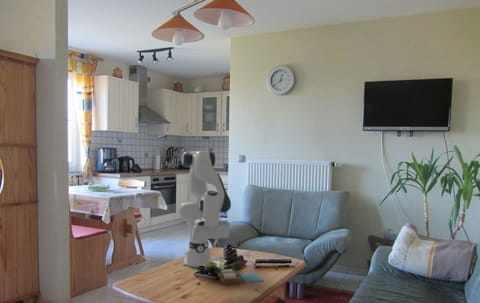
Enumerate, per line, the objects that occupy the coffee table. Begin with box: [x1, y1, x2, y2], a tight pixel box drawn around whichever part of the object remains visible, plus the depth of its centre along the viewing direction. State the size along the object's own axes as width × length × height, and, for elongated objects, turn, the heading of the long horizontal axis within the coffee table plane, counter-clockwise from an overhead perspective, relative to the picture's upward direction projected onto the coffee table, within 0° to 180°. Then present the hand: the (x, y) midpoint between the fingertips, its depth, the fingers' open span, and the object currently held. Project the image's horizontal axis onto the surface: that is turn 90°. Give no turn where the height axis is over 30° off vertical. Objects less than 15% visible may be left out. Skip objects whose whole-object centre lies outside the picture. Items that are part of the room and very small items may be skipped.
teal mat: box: [239, 272, 264, 283], centre depth 213 cm, size 12×10×1 cm
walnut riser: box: [219, 270, 244, 286], centre depth 209 cm, size 14×11×2 cm
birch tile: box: [220, 268, 236, 279], centre depth 208 cm, size 9×6×2 cm, turn 16°
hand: (210, 246), depth 205 cm, fingers open, 3 cm apart
